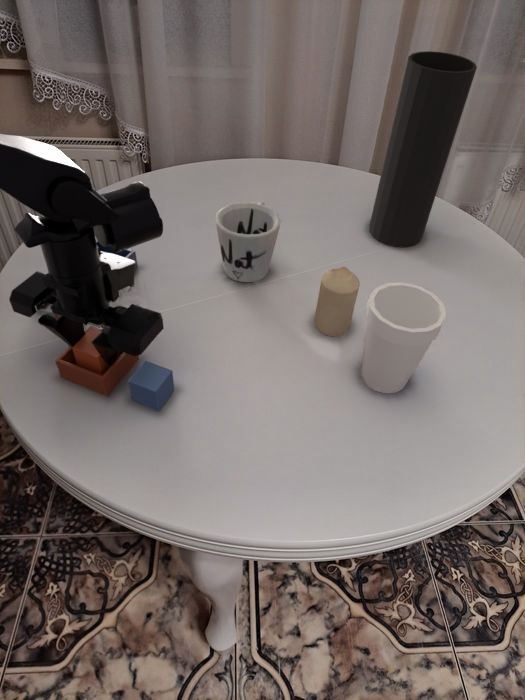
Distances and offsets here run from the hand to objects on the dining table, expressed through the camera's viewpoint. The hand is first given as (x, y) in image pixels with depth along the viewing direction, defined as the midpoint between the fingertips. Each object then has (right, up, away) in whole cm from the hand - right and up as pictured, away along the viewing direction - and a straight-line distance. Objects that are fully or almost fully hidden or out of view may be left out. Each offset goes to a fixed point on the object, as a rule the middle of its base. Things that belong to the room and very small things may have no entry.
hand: (98, 358), depth 68 cm
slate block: (+8, -5, -1) cm, 9 cm away
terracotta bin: (0, -1, +1) cm, 2 cm away
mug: (+20, +16, +21) cm, 33 cm away
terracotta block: (0, -1, +1) cm, 1 cm away
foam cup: (+39, -3, +3) cm, 39 cm away
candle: (+33, +5, +10) cm, 35 cm away
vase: (+48, +24, +30) cm, 61 cm away
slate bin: (-6, +11, +13) cm, 18 cm away
